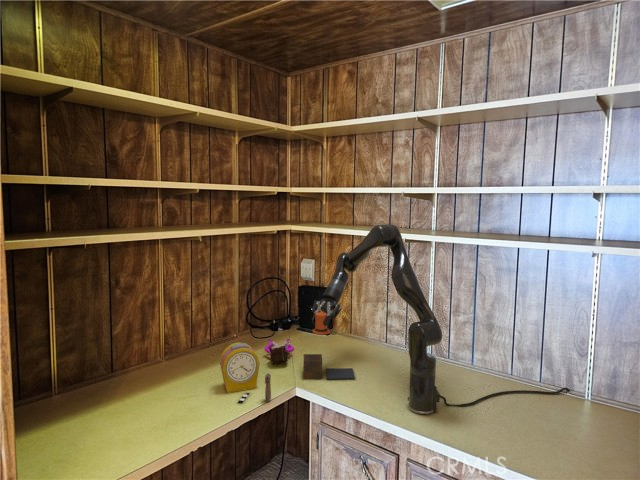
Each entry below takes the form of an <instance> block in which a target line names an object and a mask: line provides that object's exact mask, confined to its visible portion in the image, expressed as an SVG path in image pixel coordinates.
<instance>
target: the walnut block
mask: <svg viewBox="0 0 640 480" xmlns="http://www.w3.org/2000/svg"><path fill="white" fill-rule="evenodd" d="M303 380H323V354H321V353H303Z"/></svg>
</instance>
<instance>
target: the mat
mask: <svg viewBox="0 0 640 480" xmlns="http://www.w3.org/2000/svg"><path fill="white" fill-rule="evenodd" d="M325 375H326V380H327V381H355V380H356V377H355V372H354V368H352V367H351V368H350V367H349V368H348V367H346V368H345V367H333V368H332V367H326V368H325Z"/></svg>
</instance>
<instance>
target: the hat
mask: <svg viewBox="0 0 640 480" xmlns="http://www.w3.org/2000/svg"><path fill="white" fill-rule="evenodd" d="M326 316H327V312H325V311H324V312H319V313H316V314H315V323H314V328H312V333H313V335H320V336H324V335H328V334H331V329H330V328H328V325H326V326H324V324H323V322H324V320H325V318H326Z"/></svg>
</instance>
